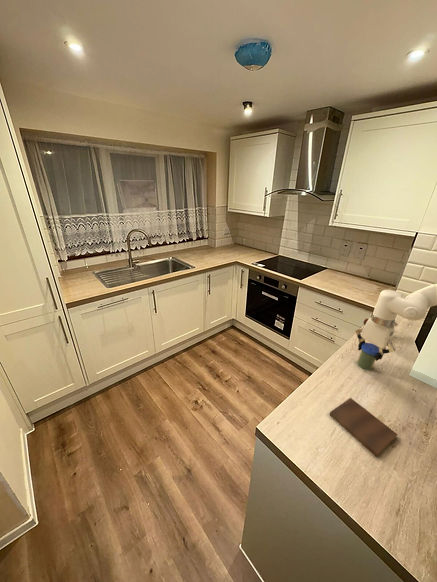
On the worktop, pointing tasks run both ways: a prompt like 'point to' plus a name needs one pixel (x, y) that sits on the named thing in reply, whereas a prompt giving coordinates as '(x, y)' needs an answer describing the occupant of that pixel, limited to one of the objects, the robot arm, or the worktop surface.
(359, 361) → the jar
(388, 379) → the worktop surface
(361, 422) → the board
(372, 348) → the lid
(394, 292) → the robot arm
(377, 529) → the worktop surface
